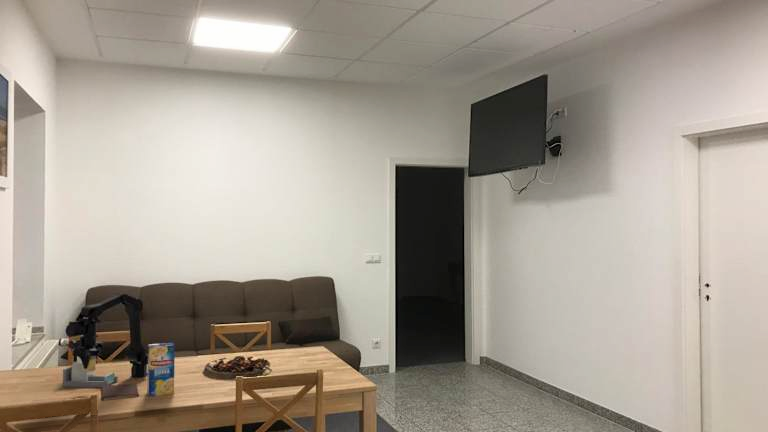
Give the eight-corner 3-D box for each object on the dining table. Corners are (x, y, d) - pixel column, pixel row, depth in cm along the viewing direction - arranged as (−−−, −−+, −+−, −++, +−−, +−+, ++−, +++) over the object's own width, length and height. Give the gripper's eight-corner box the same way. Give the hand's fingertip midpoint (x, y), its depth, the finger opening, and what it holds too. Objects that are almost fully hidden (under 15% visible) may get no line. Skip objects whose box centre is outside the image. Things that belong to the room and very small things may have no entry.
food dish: (256, 363, 336) (257, 349, 336) (280, 377, 308) (280, 362, 308) (193, 369, 317) (194, 354, 317) (213, 384, 289) (213, 368, 289)
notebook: (136, 386, 284) (136, 382, 284) (138, 397, 266) (138, 392, 266) (101, 389, 278) (101, 385, 278) (101, 401, 260) (101, 396, 260)
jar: (98, 368, 277) (98, 355, 277) (91, 371, 272) (91, 357, 272) (86, 368, 278) (86, 354, 278) (79, 371, 272) (79, 357, 272)
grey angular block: (87, 384, 285) (87, 363, 286) (71, 385, 283) (71, 364, 283) (87, 382, 289) (88, 361, 289) (72, 383, 286) (72, 362, 287)
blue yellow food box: (147, 392, 272) (147, 344, 272) (172, 389, 277) (172, 342, 277) (148, 396, 266) (149, 347, 266) (174, 393, 271) (174, 345, 271)
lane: (117, 381, 291) (117, 365, 291) (106, 387, 280) (107, 370, 280) (75, 380, 291) (75, 364, 291) (62, 386, 281) (63, 369, 281)
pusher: (114, 381, 289) (114, 372, 289) (106, 386, 281) (106, 376, 281) (112, 381, 289) (112, 372, 289) (104, 386, 281) (104, 376, 281)
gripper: (83, 329, 284) (82, 362, 284) (60, 337, 266) (60, 372, 266) (106, 330, 284) (105, 362, 284) (85, 337, 265) (84, 372, 265)
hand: (88, 367), depth 275 cm, fingers closed on jar, 5 cm apart
